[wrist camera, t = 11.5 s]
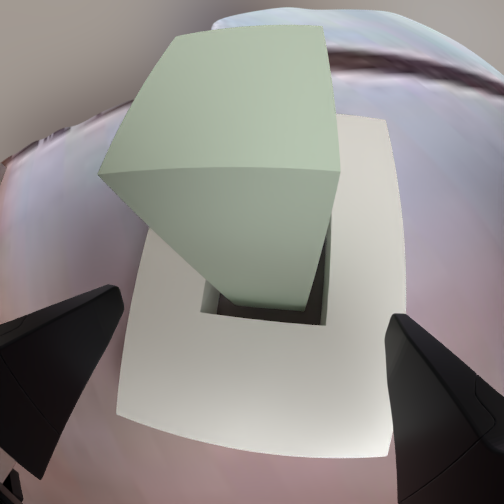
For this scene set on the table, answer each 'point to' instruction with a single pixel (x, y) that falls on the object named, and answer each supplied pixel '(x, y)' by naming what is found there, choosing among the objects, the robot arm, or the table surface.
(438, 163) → the table surface
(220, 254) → the pale green block
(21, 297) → the table surface
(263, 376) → the slotted board
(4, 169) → the picture frame
